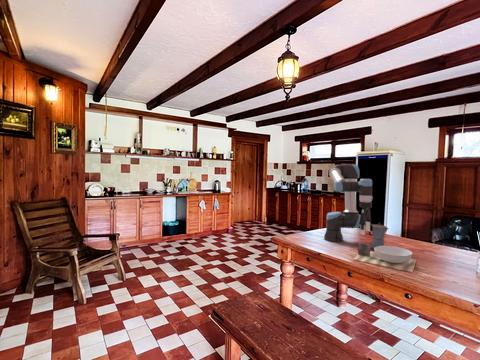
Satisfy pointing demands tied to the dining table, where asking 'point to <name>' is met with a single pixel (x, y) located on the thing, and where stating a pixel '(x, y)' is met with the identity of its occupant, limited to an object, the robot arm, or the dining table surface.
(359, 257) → the serving board
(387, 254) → the serving bowl
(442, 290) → the dining table surface
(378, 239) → the moka pot
